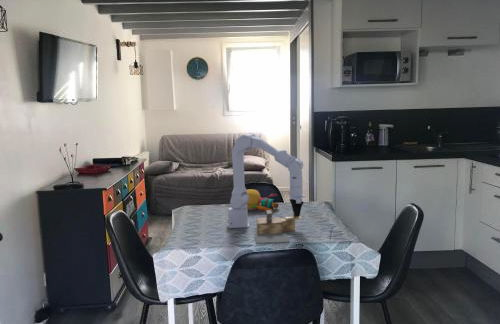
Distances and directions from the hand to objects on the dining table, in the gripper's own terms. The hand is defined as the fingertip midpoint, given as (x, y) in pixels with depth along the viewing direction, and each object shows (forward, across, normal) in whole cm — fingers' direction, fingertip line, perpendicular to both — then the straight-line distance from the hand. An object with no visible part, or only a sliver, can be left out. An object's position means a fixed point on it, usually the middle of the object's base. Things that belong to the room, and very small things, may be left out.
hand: (296, 215), depth 202 cm
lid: (+3, 0, +12) cm, 13 cm away
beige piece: (+2, 0, +1) cm, 2 cm away
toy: (+7, +42, +16) cm, 45 cm away
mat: (+7, -12, +12) cm, 19 cm away
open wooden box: (+7, 0, +10) cm, 12 cm away
